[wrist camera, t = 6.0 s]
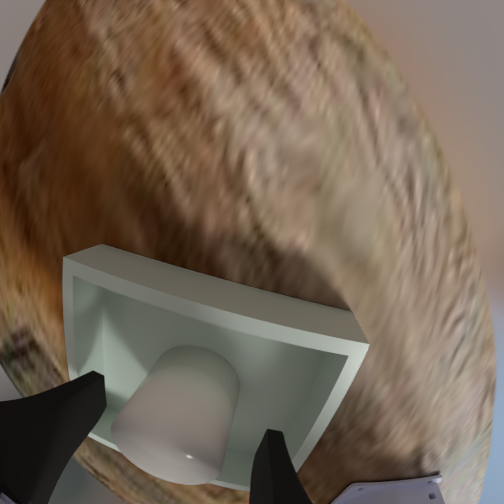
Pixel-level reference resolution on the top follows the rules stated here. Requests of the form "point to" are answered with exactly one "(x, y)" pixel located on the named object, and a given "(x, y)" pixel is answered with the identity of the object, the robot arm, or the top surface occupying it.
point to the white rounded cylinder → (180, 416)
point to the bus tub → (210, 346)
